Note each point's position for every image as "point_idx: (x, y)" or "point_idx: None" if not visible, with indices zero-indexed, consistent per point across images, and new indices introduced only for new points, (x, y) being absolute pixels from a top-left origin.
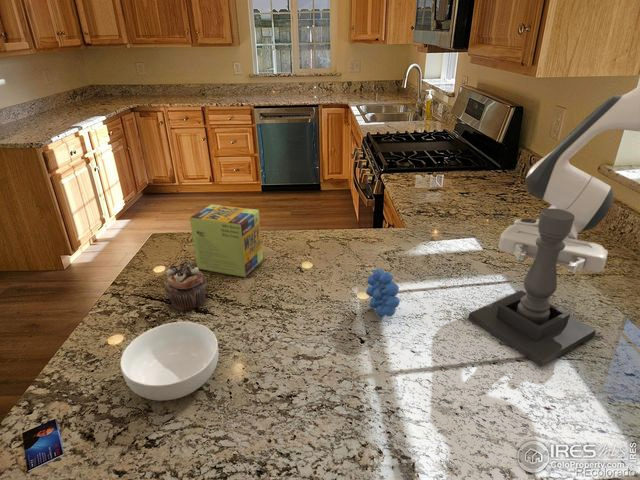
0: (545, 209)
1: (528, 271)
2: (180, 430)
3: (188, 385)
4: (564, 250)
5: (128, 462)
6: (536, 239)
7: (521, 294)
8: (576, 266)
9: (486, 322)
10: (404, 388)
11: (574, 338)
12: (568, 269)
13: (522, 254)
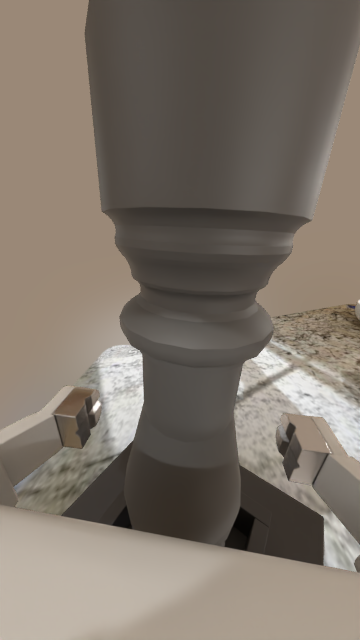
0: (354, 9)
1: (237, 452)
2: (335, 318)
3: (356, 307)
4: (46, 518)
5: (328, 310)
6: (268, 315)
7: None
8: (67, 386)
9: (268, 487)
10: (272, 357)
11: (77, 508)
12: (97, 401)
13: (298, 415)
